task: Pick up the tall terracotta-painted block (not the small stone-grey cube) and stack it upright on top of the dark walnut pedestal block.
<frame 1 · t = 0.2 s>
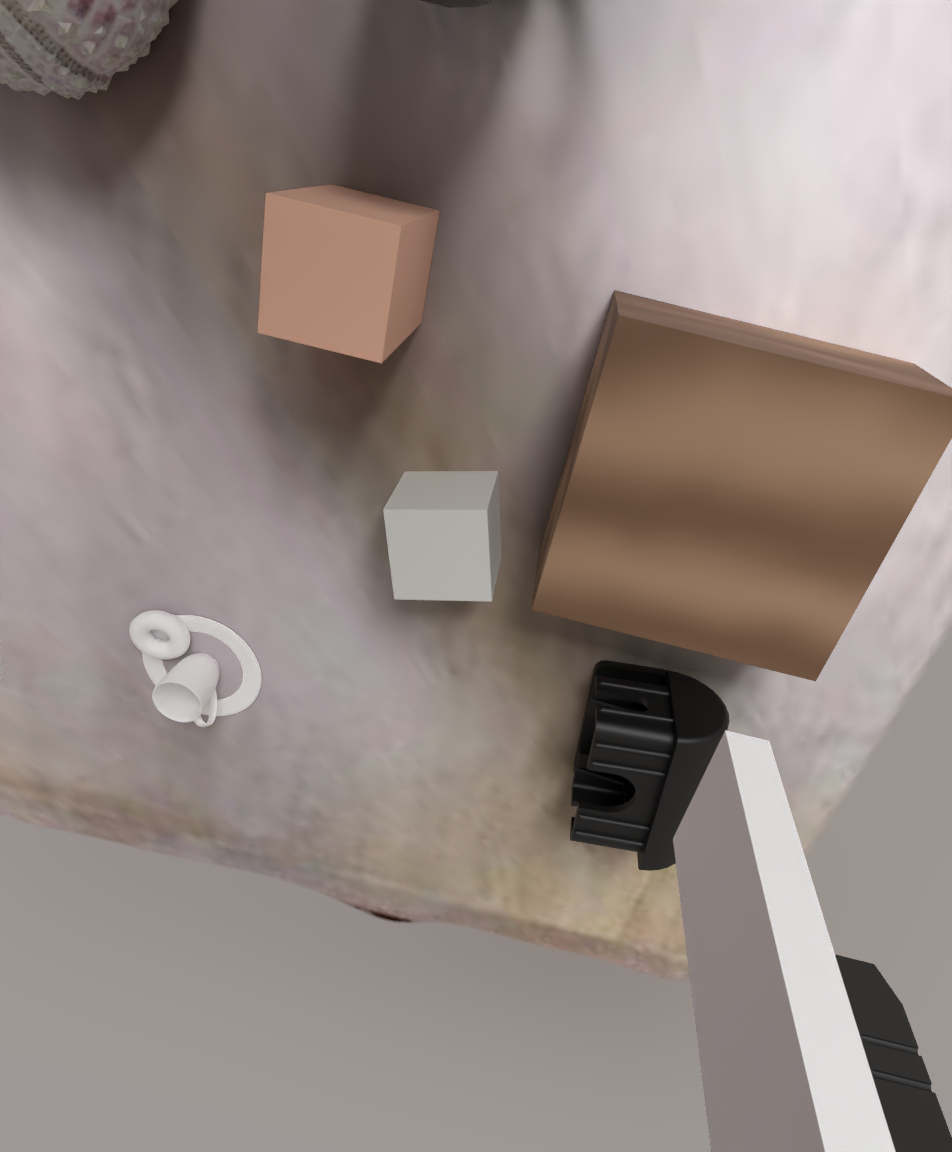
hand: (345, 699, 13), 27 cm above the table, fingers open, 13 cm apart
walnut block: (708, 467, 38), on the table
end cap: (640, 723, 47), on the table
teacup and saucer: (220, 627, 48), on the table
grey cube: (454, 513, 41), on the table
terracotta block: (378, 256, 35), on the table
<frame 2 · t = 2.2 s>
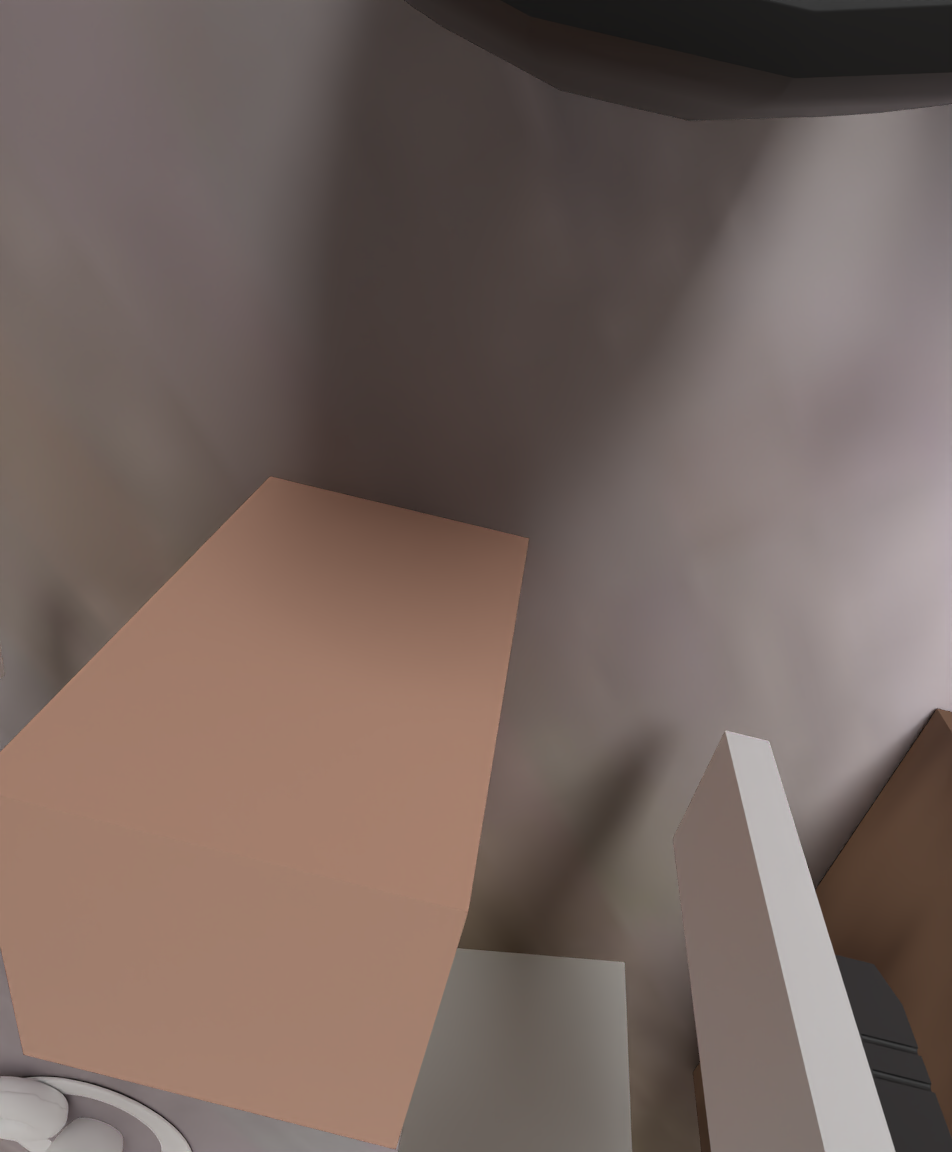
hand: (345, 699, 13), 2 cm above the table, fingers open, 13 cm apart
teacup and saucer: (121, 1082, 28), on the table
grey cube: (532, 1006, 21), on the table
terracotta block: (382, 615, 15), on the table
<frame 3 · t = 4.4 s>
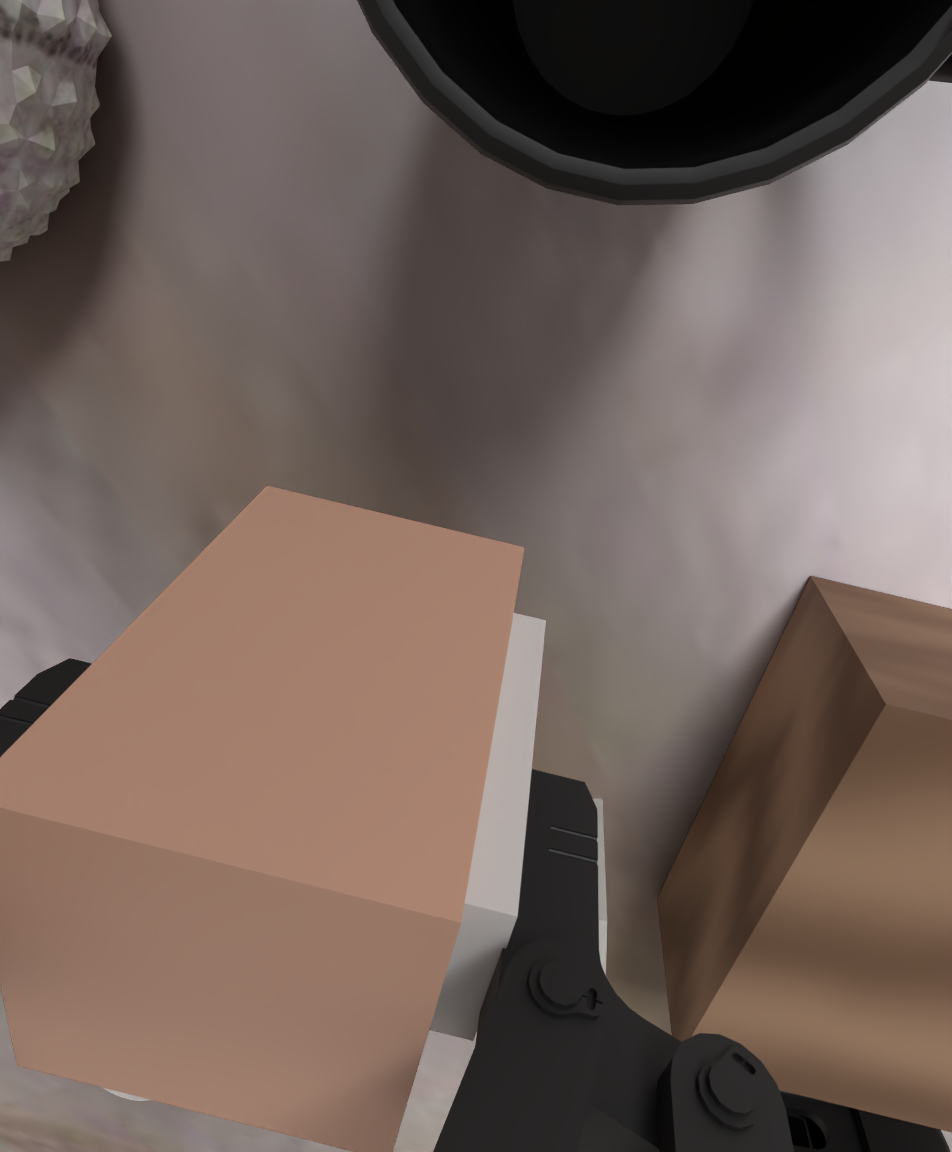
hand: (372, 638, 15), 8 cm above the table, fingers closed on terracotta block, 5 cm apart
walnut block: (932, 809, 25), on the table
mug: (715, 10, 16), on the table
end cap: (785, 1090, 33), on the table
grey cube: (532, 845, 28), on the table
terracotta block: (378, 624, 15), point 7 cm above the table, touching gripper
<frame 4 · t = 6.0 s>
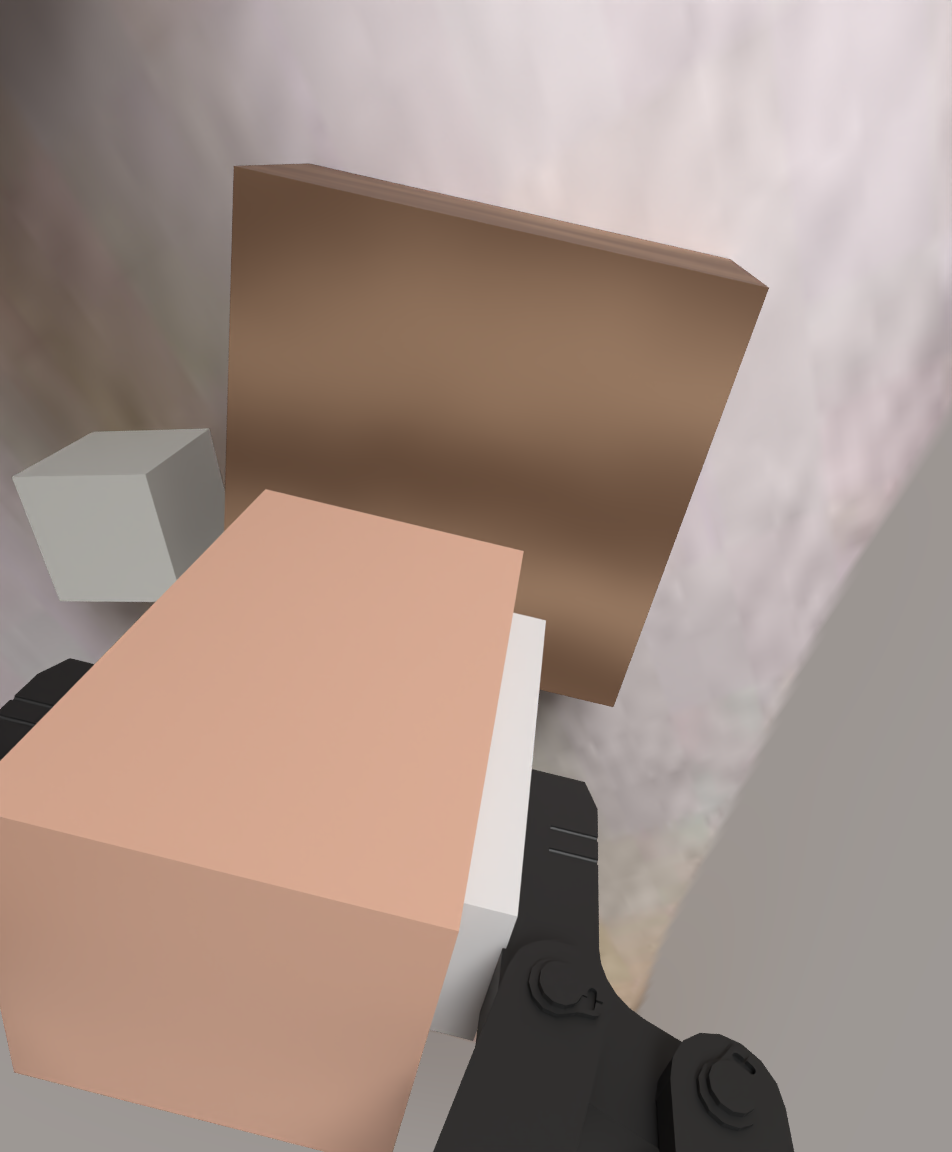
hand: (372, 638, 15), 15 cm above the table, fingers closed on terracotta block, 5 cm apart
walnut block: (477, 416, 28), on the table
grey cube: (168, 488, 31), on the table
terracotta block: (377, 627, 15), point 14 cm above the table, touching gripper
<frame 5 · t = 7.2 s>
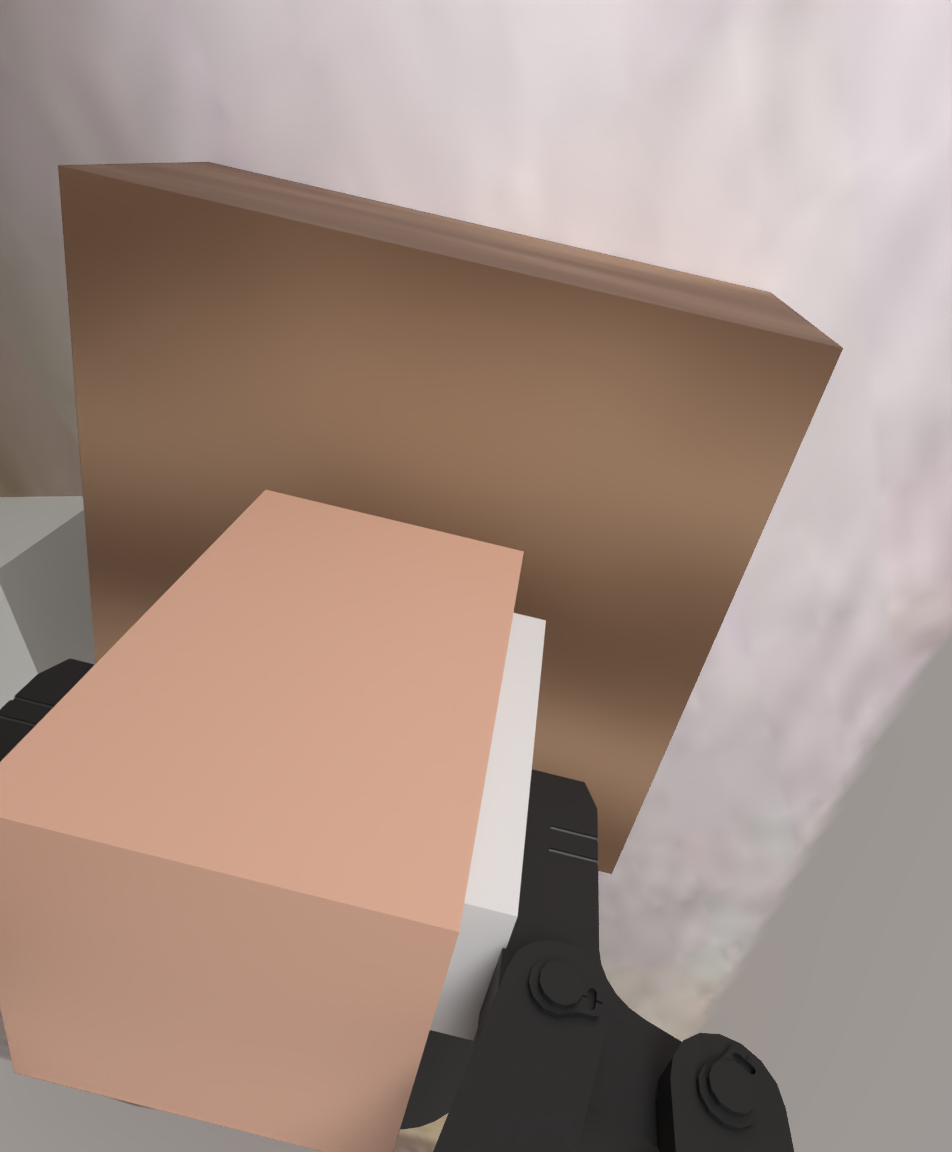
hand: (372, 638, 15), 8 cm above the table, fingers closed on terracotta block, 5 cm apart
walnut block: (438, 487, 22), on the table
end cap: (417, 874, 31), on the table
grey cube: (58, 565, 25), on the table
terracotta block: (377, 628, 15), point 7 cm above the table, touching gripper
when the fingers open (7 cm above the table, at t = 8.1 s): terracotta block stays where it is, resting on walnut block.
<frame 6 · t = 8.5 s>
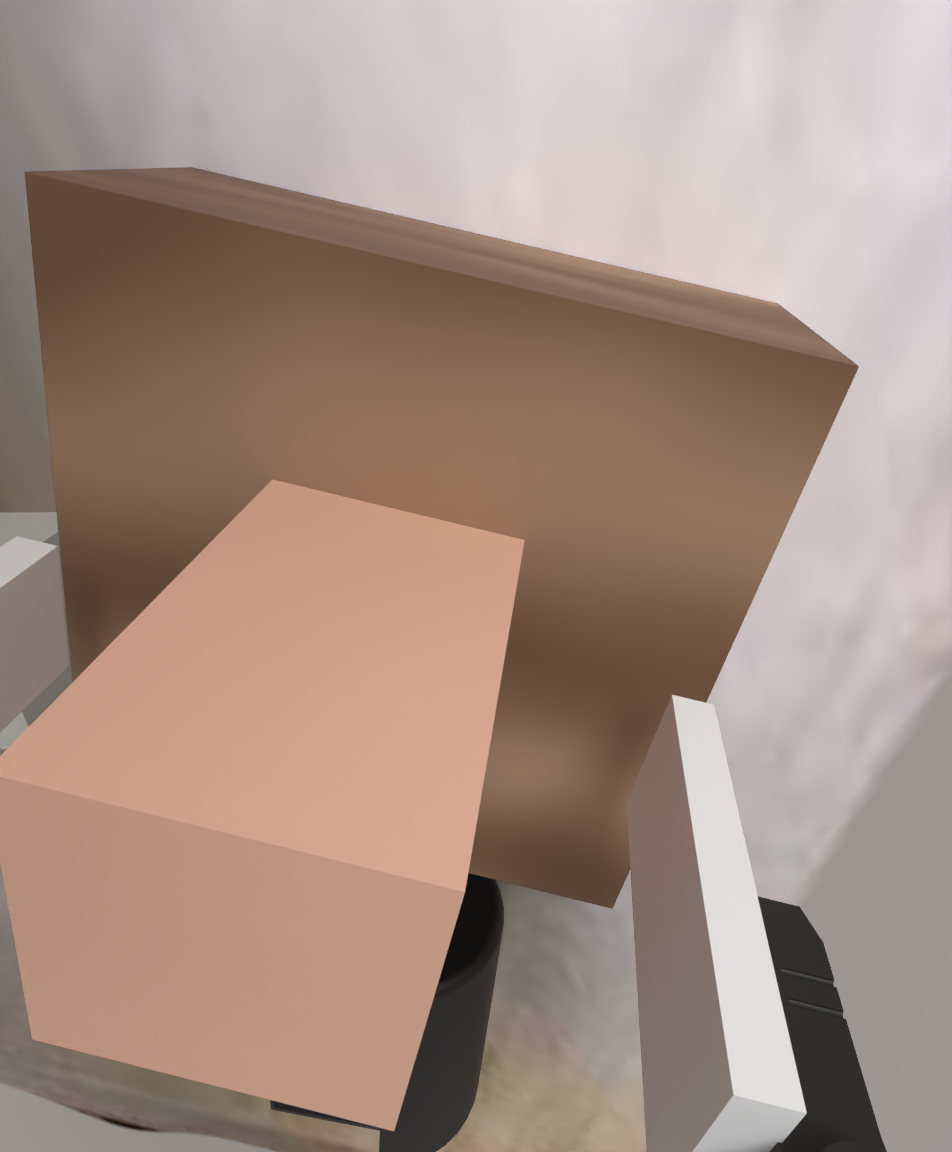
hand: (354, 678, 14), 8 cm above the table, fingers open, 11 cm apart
walnut block: (432, 504, 21), on the table
end cap: (412, 898, 30), on the table
grey cube: (40, 582, 24), on the table
terracotta block: (380, 616, 16), point 6 cm above the table, touching walnut block
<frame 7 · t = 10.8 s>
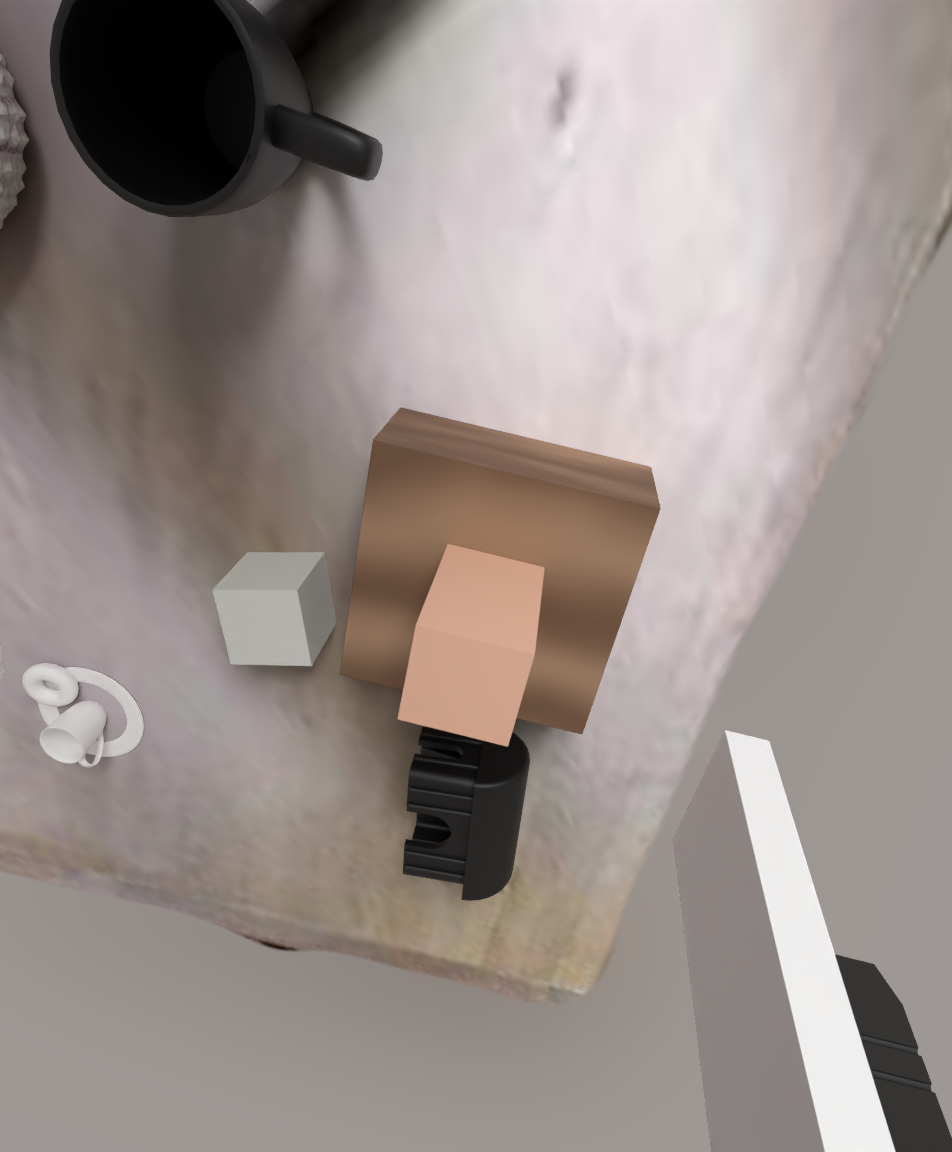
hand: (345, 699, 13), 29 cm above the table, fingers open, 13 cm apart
walnut block: (498, 549, 44), on the table
mug: (297, 129, 36), on the table
end cap: (474, 768, 53), on the table
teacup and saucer: (106, 677, 54), on the table
grey cube: (293, 587, 48), on the table
terracotta block: (485, 597, 39), point 6 cm above the table, touching walnut block
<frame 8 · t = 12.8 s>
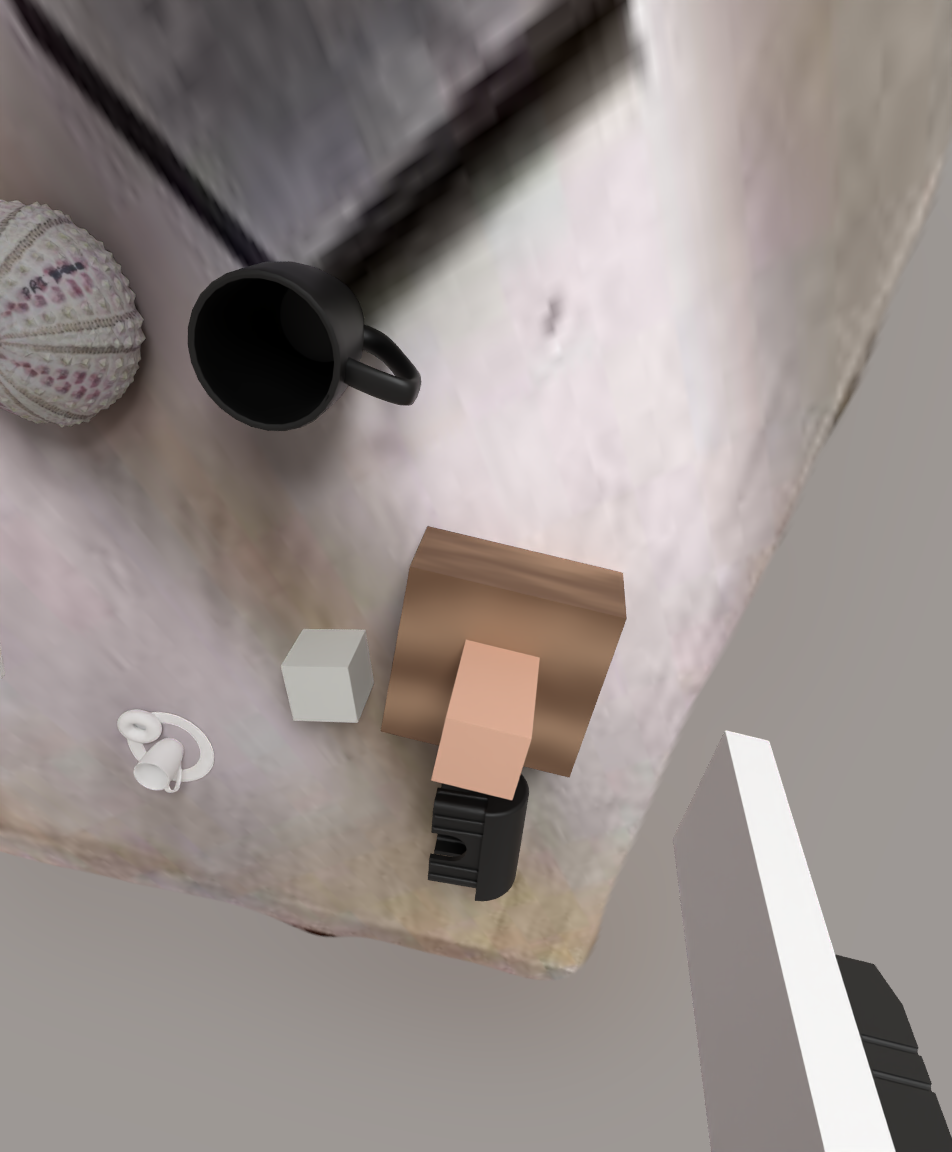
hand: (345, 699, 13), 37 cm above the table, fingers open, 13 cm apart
walnut block: (503, 630, 56), on the table
mug: (350, 329, 47), on the table
end cap: (484, 793, 65), on the table
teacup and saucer: (184, 719, 66), on the table
sea urchin shell: (62, 309, 49), on the table
grey cube: (339, 655, 59), on the table
terracotta block: (494, 678, 51), point 6 cm above the table, touching walnut block
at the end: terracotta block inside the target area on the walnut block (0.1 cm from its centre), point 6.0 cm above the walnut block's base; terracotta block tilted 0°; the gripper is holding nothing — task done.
